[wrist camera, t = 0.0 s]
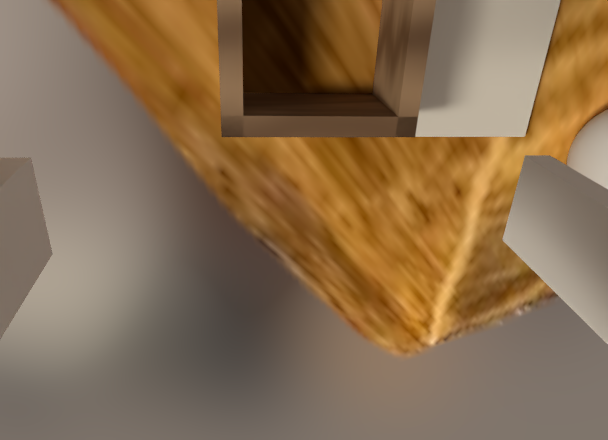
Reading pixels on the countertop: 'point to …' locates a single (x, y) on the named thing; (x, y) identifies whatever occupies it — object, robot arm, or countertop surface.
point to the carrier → (332, 107)
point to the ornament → (591, 150)
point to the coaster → (484, 67)
